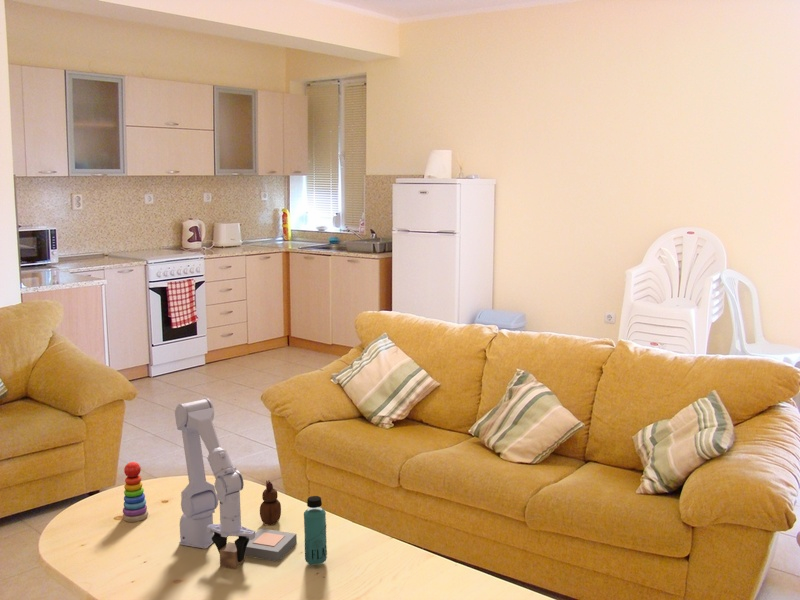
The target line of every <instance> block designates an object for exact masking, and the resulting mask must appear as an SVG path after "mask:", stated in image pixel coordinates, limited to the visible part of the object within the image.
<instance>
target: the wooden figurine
mask: <svg viewBox="0 0 800 600" xmlns="http://www.w3.org/2000/svg"><path fill="white" fill-rule="evenodd" d="M265 484H266V485H265V486H266V487H265V489H264V490H263V491H262V495H261V497H262V498H261V499H262V503H260V507H259V517H260V519H261V522H262V524H264V525H266V526H273V525H275V524H277V523H278V522H279V521H280V518H281V515H282V505H281V502H280V501H279V500H278V491H277V489H276V488H274V485H273V483H272V481H270V480H266V483H265Z"/></svg>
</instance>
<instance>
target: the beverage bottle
mask: <svg viewBox="0 0 800 600" xmlns="http://www.w3.org/2000/svg"><path fill="white" fill-rule="evenodd" d="M306 506H307V507H308V508H307V509H306V510H304V512H303V522H304V523H303V524H304V525H303V527H304V530H303V531H304V544H303V545H304V560H305V563H307V564H309V565H313V566H314V565H321V564H323V563H325V562H326V560H327V559H328V551H327V550H328V548H327V538H328V537H327V519H326V518H327V517H326V515H327V514H326V510H325V509H324V508H323V507H321V506H323V503H322V498H321V496H318V495H311V496H309V497H307V502H306Z"/></svg>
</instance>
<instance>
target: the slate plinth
mask: <svg viewBox="0 0 800 600" xmlns="http://www.w3.org/2000/svg"><path fill="white" fill-rule="evenodd" d="M297 538H298V537H297V533H293V532H289V531H281V530H274V529H270V528H268V529H267V528H260V529H258V530H257V531H255V538H254V539H253V540H249V542H248V544H247V547H246V550H245V554H244V557H247V558H255V559H258V560H259V559H260V560H267V561H272V562H278V563H279V562H280V560H281V559H283V557H284V556H286V554H287V553H288V552H289V551H290V550H291V549H293V547H294V546H295V545H297Z"/></svg>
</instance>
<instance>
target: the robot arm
mask: <svg viewBox="0 0 800 600" xmlns="http://www.w3.org/2000/svg"><path fill="white" fill-rule="evenodd" d="M174 417H175V425H176V428H177V429H176V430H177V431H181V435H182V441H183V442H182V443H183V450H184V455H185V456H184V457H185V464H186V471H187V477H188V484H187V485H186V487H185V488H183V490H182V491H181V493H180V496H181V500H180V508H181V511H182V515H181V516H180V518H179V535H180V537H179V539H180V542H178V545H180V546H188V547H192V548H199V549H205V550H206V549H208V548H209V547H210V546H211V545H212V544H213V543H214V545H215V546H216V548H217V551H218V553H219V555H220V551H219V550H220V549H221V548H222V547H224V546H225V545H226V544H227V543H228V537H237V539H235V540H234V543H235V545H236V548H237V558H238V562H241V561H242V560H243V559H244V557H245V556H244V554H245V550H246V547H247V544H248V542H249V540H253V539H254V538H255V533H256V530H255V529H254V530H252V529H250V528H247V527H245V526H242V515H241V513H242V511H241V510H242V509H241V492H240V491H242V490H243V489H244V479H243V476H242V473H241V472H240V471H239V470H238V469H237V467H234V466H233V463H232V460H231V458H230V456H229V454H228V452H227V450H226V449H225V448H222V447H221V444H220V440H219V437H218V435H217V431H216V429H215V426H214V423H213V421H214V419H215V409H214V404H213V402H212V401H211V400H210V398H208V397H207V398H202V399H198V400H194V401H190V402H188V401H187V402H185V403H177V405H176V408H175V410H174ZM201 440H202V442H203V443H204V446H205V447H206V450H207V451H208V454H207V462H208V465H209V466H210V469H211V471H212V473H213V476H214V478H215V481H214V484H213V483H211V482H209V481H208V480H207V478H206V470H205V465H204V457H203V456H204V455H203V450H202V444H201V443H202V442H201ZM218 506H219V521H220V524H219V523H218V524H216V523H214V513H216V512H215V510H217V508H218Z"/></svg>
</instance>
